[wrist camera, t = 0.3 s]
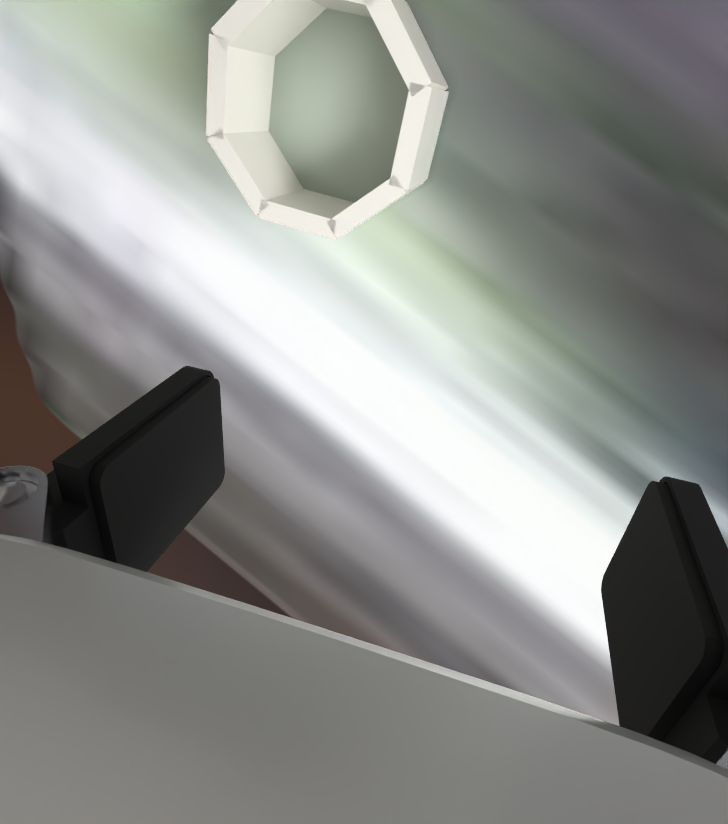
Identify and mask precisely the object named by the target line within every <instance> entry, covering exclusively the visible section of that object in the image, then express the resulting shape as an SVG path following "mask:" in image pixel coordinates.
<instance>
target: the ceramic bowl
mask: <svg viewBox="0 0 728 824" xmlns="http://www.w3.org/2000/svg"><path fill="white" fill-rule="evenodd" d="M211 30H212V32H213V34H214V35H213V34H209V48H208V80H207V112H206V135H207V136H210V137H209V138H208V139H207V140H208V142H209V144H210V145H211V147H212V148H213V150H214V151H215V153H216V154H217V156H218V158H219V159H220V161H221V162H222V164H223V165H224V167H225V168H226V170H227V172H228V173H229V175H230V176H231V178H232V179H233V181H234V182H235V184H236V186H237V187H238V189H239V190H240V192H241V193H242V195H243V197H244V198H245V200H246V201H247V203H248V204H249V206H250V207H251V209H252V211H253V212H254V214H255V215H259V218H260V219H264V220H267V221H271V222H274V223H277V224H281V225H284V226H288V227H291V228H295V229H298V230H302V231H305V232H308V233H312V234H315V235H319V236H322V237H326V238H329V239H333V240H334V239H335V238H336V239H338V238H340V237H341V236H343V235H344V234H346V233H348V232H349V231H351V230H352V229H354V228H356V227H357V226H359V225H360V224H362V223H364V222H365V221H367V220H368V219H370V218H371V217H373V216H374V215H376V214H377V213H379V212H380V211H382V210H383V209H385V208H386V207H388V206H389V205H391V204H393V203H394V202H396V201H397V200H399V199H400V198H402V197H403V196H405V195H406V194H408V193H409V192H411V191H412V190H414V189H415V188H417V187H418V186H420V185H421V184H423V183H424V182H425V181H424V180H426V179H427V178H428V174H429V170H430V166H431V162H432V158H433V154H434V150H435V146H436V142H437V138H438V134H439V130H440V126H441V122H442V118H443V114H444V110H445V106H446V102H447V98H448V94H449V92H447V91H444V90H446V89H447V88H448V85H447V83H446V81H445V79H444V77H443V75H442V73H441V71H440V69H439V67H438V65H437V63H436V61H435V59H434V57H433V55H432V53H431V50H430V48H429V46H428V44H427V42H426V40H425V38H424V36H423V34H422V32H421V30H420V28H419V26H418V24H417V22H416V20H415V18H414V16H413V13H412V11H411V9H410V7H409V5H408V3H407V2H406V1H404V0H237V1H236V2H235V4H234V5H233V6H232V7H231V8H230V9H229V10H228V11H227V12H226V13H225V14H224V15H223V16H222V17H221V18H220V20H219V21H218V22H217V23H216V24H215V25H214V26H213V27H212V28H211Z"/></svg>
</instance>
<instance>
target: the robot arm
mask: <svg viewBox="0 0 728 824" xmlns="http://www.w3.org/2000/svg"><path fill="white" fill-rule="evenodd" d="M52 463H53V466H54V470H53V471H52V472H50V473H49V474H48V475H45V474H44V473H43V472H42V471H41V470H39V469H36V468H33V467H27V466H11V467H4V468H0V824H728V548H727V546H726V544H725V541H724V539H723V537H722V535H721V532H720V530H719V528H718V526H717V523H716V521H715V519H714V516H713V514H712V512H711V510H710V507H709V505H708V503H707V501H706V498H705V496H704V494H703V492H702V489H701V487H700V486H699V484H696V483H692V482H688V481H684V480H679V479H675V478H671V477H663V478H662V479H661V480H660V482H655V481H652V482H650V483H649V485H648V486H647V488H646V490H645V492H644V494H643V496H642V498H641V500H640V502H639V504H638V506H637V508H636V510H635V512H634V515H633V517H632V519H631V521H630V523H629V525H628V527H627V529H626V531H625V533H624V535H623V537H622V539H621V541H620V543H619V545H618V547H617V549H616V551H615V553H614V555H613V557H612V559H611V561H610V563H609V566H608V568H607V570H606V572H605V574H604V576H603V580H602V587H601V592H602V600H603V607H604V615H605V622H606V629H607V636H608V644H609V651H610V658H611V666H612V673H613V680H614V687H615V695H616V702H617V709H618V717H619V724H620V726H617V725H614V724H611V723H609V722H606V721H603V720H600V719H597V718H594V717H591V716H588V715H585V714H582V713H580V712H577V711H574V710H571V709H568V708H565V707H562V706H559V705H556V704H553V703H550V702H548V701H545V700H542V699H539V698H536V697H533V696H530V695H527V694H524V693H520V692H517V691H514V690H511V689H508V688H505V687H502V686H499V685H496V684H493V683H490V682H487V681H484V680H481V679H478V678H475V677H472V676H469V675H465V674H462V673H459V672H456V671H453V670H450V669H447V668H444V667H441V666H438V665H435V664H432V663H429V662H426V661H423V660H420V659H417V658H414V657H410V656H407V655H404V654H401V653H398V652H395V651H392V650H389V649H386V648H383V647H380V646H377V645H373V644H370V643H367V642H364V641H361V640H358V639H355V638H352V637H349V636H345V635H342V634H339V633H336V632H333V631H330V630H327V629H324V628H321V627H318V626H314V625H311V624H308V623H305V622H302V621H299V620H296V619H293V618H289V617H286V616H283V615H280V614H277V613H274V612H271V611H268V610H264V609H261V608H258V607H255V606H252V605H249V604H246V603H243V602H239V601H236V600H233V599H230V598H227V597H223V596H220V595H217V594H214V593H211V592H208V591H204V590H201V589H198V588H195V587H191V586H189V585H185V584H182V583H179V582H176V581H172V580H170V579H166V578H163V577H160V576H157V575H154V574H151V573H147V571H148V570H149V569H150V568H151V566H152V565H153V564H154V563H155V562H156V560H158V558H159V557H160V556H161V555H162V554H163V553H164V551H165V550H166V549H167V548H168V547H169V545H170V544H171V543H172V542H173V541H174V540H175V538H176V537H177V536H178V535H179V534H180V533H181V531H182V530H183V529H184V528H185V527H186V525H187V524H188V523H189V522H190V521H191V520H192V518H193V517H194V516H195V515H196V514H197V513H198V511H199V510H200V509H201V508H202V507H203V506H204V504H205V503H206V502H207V501H208V500H209V498H210V497H211V496H212V495H213V494H214V493H215V491H216V490H217V489H218V488H219V487H220V485H221V483H222V481H223V478H224V474H225V467H224V449H223V432H222V415H221V397H220V384H219V381H218V380H217V379H215V378H214V376H213V374H212V372H210V371H208V370H203V369H199V368H195V367H190V366H185V367H183V368H182V369H180V370H179V371H177V372H176V373H175V374H173V375H172V376H170V377H169V378H168V379H166V380H165V381H163V382H162V383H161V384H159V385H158V386H156V387H155V388H154V389H152V390H151V391H149V392H148V393H147V394H145V395H144V396H142V397H141V398H140V399H138V400H137V401H135V402H134V403H133V404H131V405H130V406H128V407H127V408H126V409H124V410H123V411H121V412H120V413H119V414H117V415H116V416H114V417H113V418H112V419H110V420H109V421H107V422H106V423H105V424H103V425H102V426H100V427H99V428H98V429H96V430H95V431H93V432H92V433H91V434H89V435H88V436H87V437H85V438H84V439H82V440H81V441H80V442H78V443H77V444H75V445H74V446H73V447H71V448H70V449H68V450H67V451H66V452H64V453H63V454H62V455H60V456H59V457H57V458H56V459H54V460H53V461H52Z"/></svg>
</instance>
